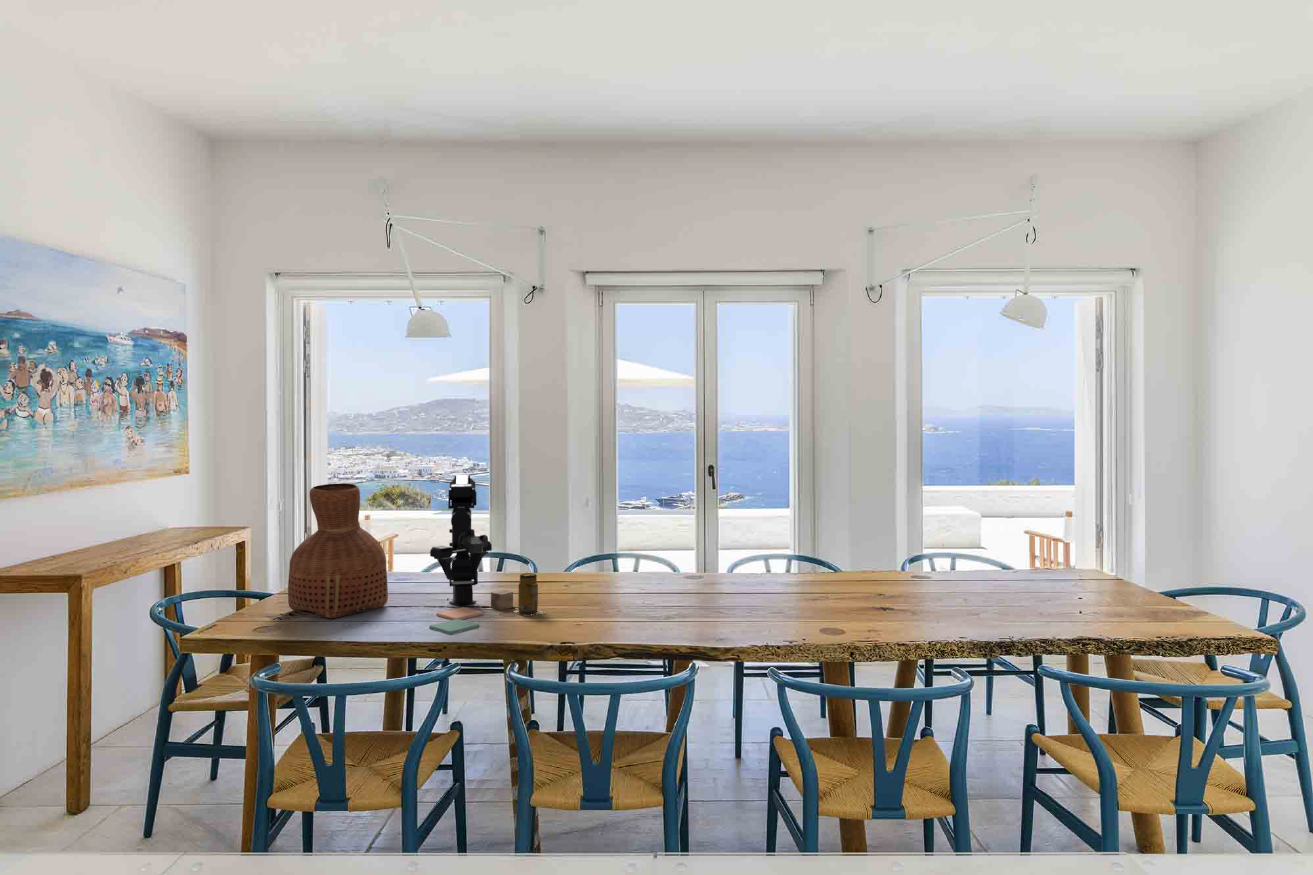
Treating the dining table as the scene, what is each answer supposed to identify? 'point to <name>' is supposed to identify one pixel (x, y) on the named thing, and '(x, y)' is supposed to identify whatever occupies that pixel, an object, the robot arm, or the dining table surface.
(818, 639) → the dining table surface
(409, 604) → the dining table surface
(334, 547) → the basket
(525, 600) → the condiment
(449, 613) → the mat terracotta
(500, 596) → the brown cube
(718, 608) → the dining table surface
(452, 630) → the mat green
